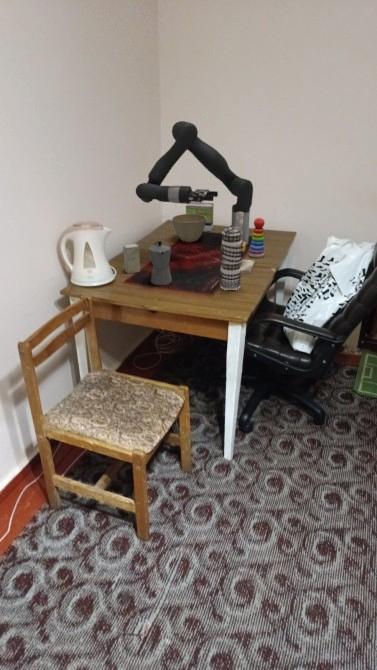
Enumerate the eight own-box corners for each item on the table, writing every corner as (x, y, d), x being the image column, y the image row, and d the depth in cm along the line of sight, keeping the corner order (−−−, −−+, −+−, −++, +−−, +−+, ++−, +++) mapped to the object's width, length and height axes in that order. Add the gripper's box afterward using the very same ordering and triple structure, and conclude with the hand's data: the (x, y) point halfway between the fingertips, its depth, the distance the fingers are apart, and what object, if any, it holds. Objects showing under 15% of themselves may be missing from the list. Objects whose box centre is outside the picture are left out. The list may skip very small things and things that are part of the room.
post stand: (219, 271, 208) (221, 215, 196) (226, 261, 220) (227, 207, 208) (250, 274, 205) (253, 217, 192) (254, 263, 217) (258, 209, 204)
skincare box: (128, 274, 207) (125, 248, 201) (124, 270, 211) (122, 245, 205) (141, 271, 210) (139, 245, 204) (137, 268, 213) (135, 243, 207)
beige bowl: (185, 233, 261) (185, 212, 255) (212, 238, 252) (212, 216, 246) (166, 241, 248) (165, 219, 242) (193, 247, 239) (193, 224, 233)
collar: (231, 251, 207) (231, 244, 205) (233, 247, 211) (233, 241, 210) (243, 252, 205) (243, 245, 204) (245, 248, 210) (245, 242, 209)
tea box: (185, 231, 265) (185, 205, 258) (188, 226, 274) (188, 201, 267) (211, 232, 263) (211, 206, 256) (213, 227, 272) (213, 202, 264)
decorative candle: (244, 289, 190) (247, 230, 177) (223, 292, 187) (225, 232, 175) (236, 281, 197) (238, 224, 185) (216, 284, 195) (217, 226, 183)
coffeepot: (175, 286, 194) (173, 245, 185) (153, 288, 192) (150, 247, 184) (168, 273, 207) (166, 234, 199) (147, 275, 205) (145, 236, 197)
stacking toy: (264, 258, 222) (266, 220, 213) (247, 258, 223) (249, 220, 214) (265, 253, 229) (267, 216, 220) (249, 252, 230) (251, 215, 221)
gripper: (175, 189, 196) (212, 190, 192) (184, 182, 208) (219, 184, 204) (175, 206, 199) (211, 208, 195) (184, 199, 211) (218, 201, 207)
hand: (215, 196), depth 200 cm, fingers open, 8 cm apart
